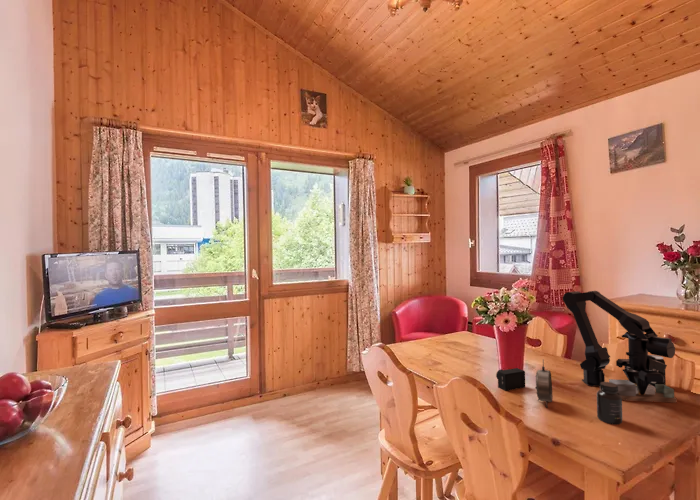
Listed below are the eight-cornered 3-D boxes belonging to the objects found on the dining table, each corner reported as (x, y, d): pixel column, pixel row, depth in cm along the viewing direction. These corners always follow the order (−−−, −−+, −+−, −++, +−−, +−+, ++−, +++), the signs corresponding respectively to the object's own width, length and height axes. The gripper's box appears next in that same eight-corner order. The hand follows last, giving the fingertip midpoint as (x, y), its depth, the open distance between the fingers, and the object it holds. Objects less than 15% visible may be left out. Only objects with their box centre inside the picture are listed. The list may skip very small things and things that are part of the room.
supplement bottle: (592, 416, 121) (591, 380, 121) (610, 415, 121) (609, 379, 121) (608, 425, 114) (607, 388, 114) (628, 424, 115) (627, 387, 115)
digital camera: (515, 383, 152) (515, 366, 152) (525, 387, 147) (525, 370, 147) (495, 386, 149) (495, 369, 149) (505, 391, 144) (504, 374, 144)
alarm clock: (551, 410, 126) (550, 364, 126) (534, 406, 129) (533, 362, 129) (553, 398, 135) (552, 356, 135) (537, 396, 138) (536, 354, 138)
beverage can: (669, 389, 142) (668, 359, 142) (650, 388, 143) (650, 358, 143) (659, 383, 148) (658, 354, 148) (641, 382, 150) (640, 354, 150)
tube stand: (616, 399, 133) (615, 384, 133) (607, 393, 139) (606, 378, 139) (676, 402, 130) (676, 386, 130) (665, 395, 136) (664, 380, 136)
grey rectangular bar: (616, 393, 134) (616, 385, 134) (611, 390, 138) (611, 382, 138) (655, 395, 132) (655, 386, 132) (649, 391, 135) (649, 383, 135)
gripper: (680, 359, 124) (682, 404, 124) (645, 345, 143) (646, 384, 142) (645, 358, 126) (646, 402, 126) (614, 344, 144) (615, 383, 144)
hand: (639, 392), depth 135 cm, fingers closed on grey rectangular bar, 3 cm apart
